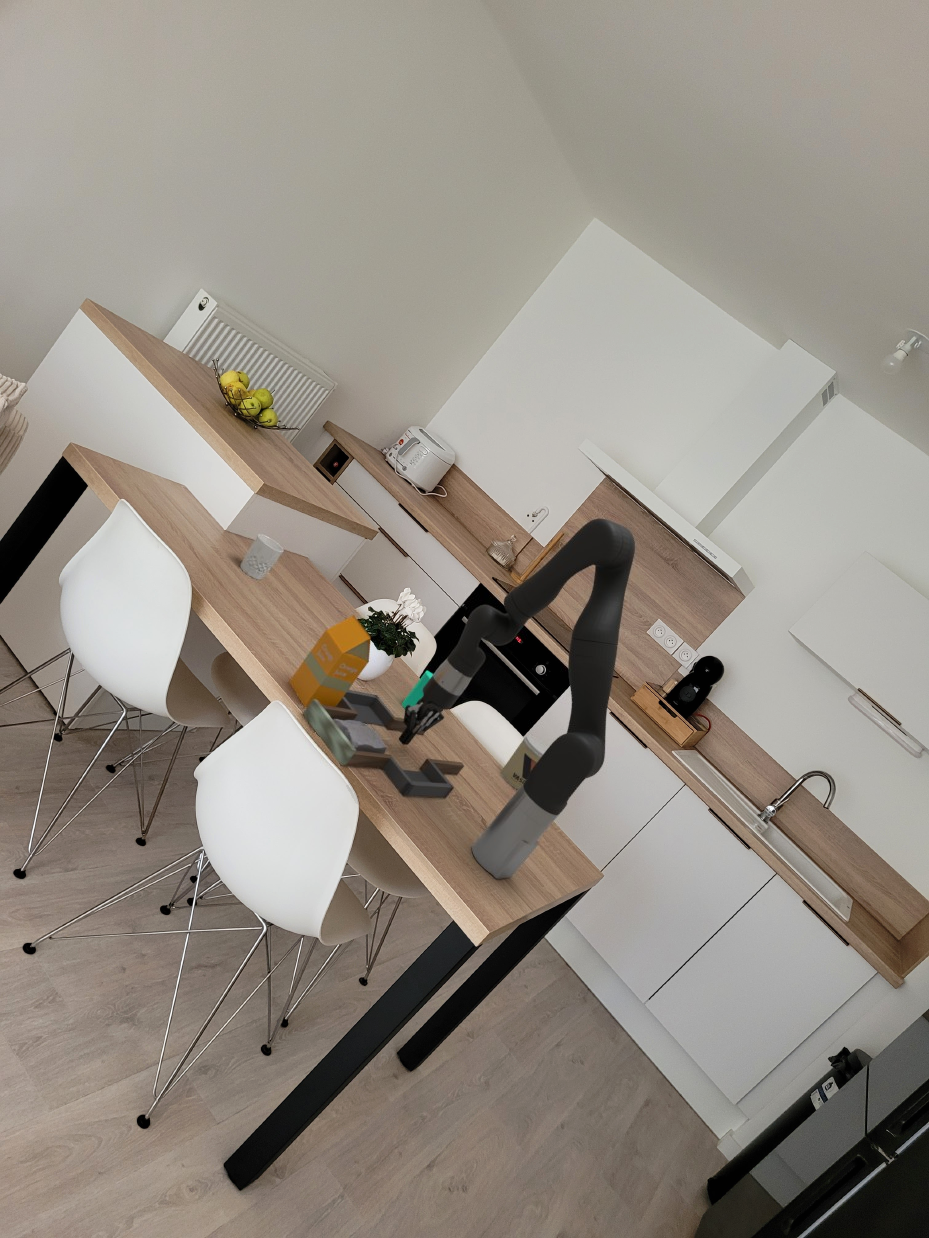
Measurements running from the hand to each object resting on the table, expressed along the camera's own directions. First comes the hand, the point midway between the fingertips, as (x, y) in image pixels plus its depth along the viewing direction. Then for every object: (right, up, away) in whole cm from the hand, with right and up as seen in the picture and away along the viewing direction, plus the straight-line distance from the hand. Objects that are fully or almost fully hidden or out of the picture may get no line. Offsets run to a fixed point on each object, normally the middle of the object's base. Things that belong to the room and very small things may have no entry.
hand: (402, 742), depth 185 cm
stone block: (-10, +1, -12) cm, 16 cm away
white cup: (-44, +40, +37) cm, 70 cm away
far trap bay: (-11, +6, +3) cm, 13 cm away
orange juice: (-20, +11, -7) cm, 23 cm away
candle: (0, +4, +26) cm, 27 cm away
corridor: (-4, 0, -4) cm, 5 cm away
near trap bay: (+3, -7, -10) cm, 13 cm away
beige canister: (+26, -15, +30) cm, 43 cm away
